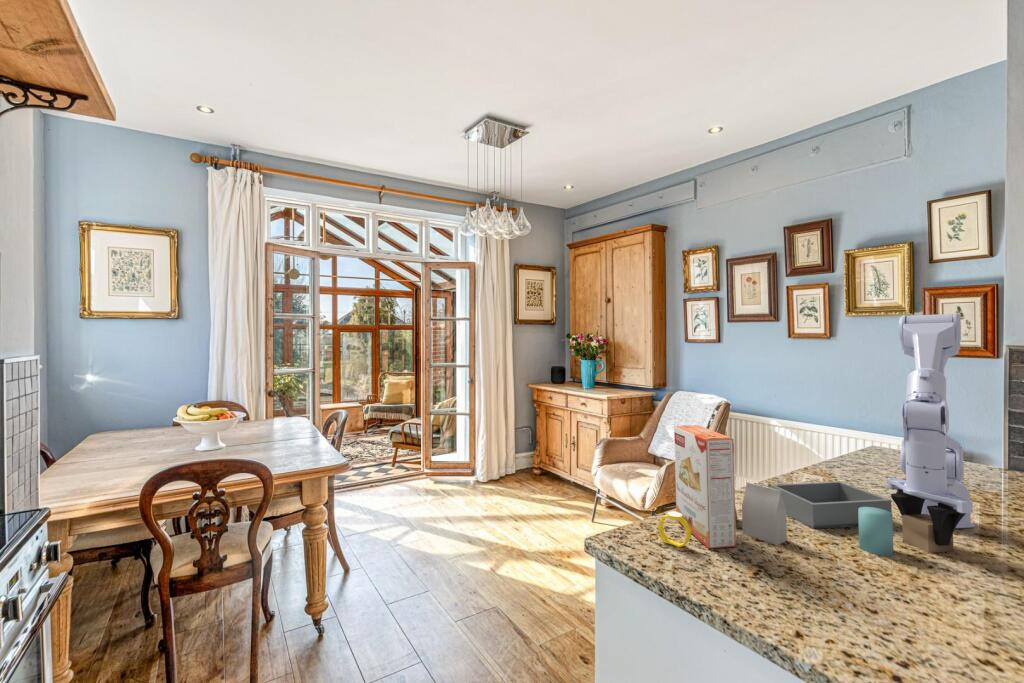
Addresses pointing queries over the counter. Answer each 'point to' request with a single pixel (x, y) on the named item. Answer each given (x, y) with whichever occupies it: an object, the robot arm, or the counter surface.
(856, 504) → the tote
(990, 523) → the counter surface
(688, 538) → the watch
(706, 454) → the cracker box
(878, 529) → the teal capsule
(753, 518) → the tea bag
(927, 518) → the walnut cube
